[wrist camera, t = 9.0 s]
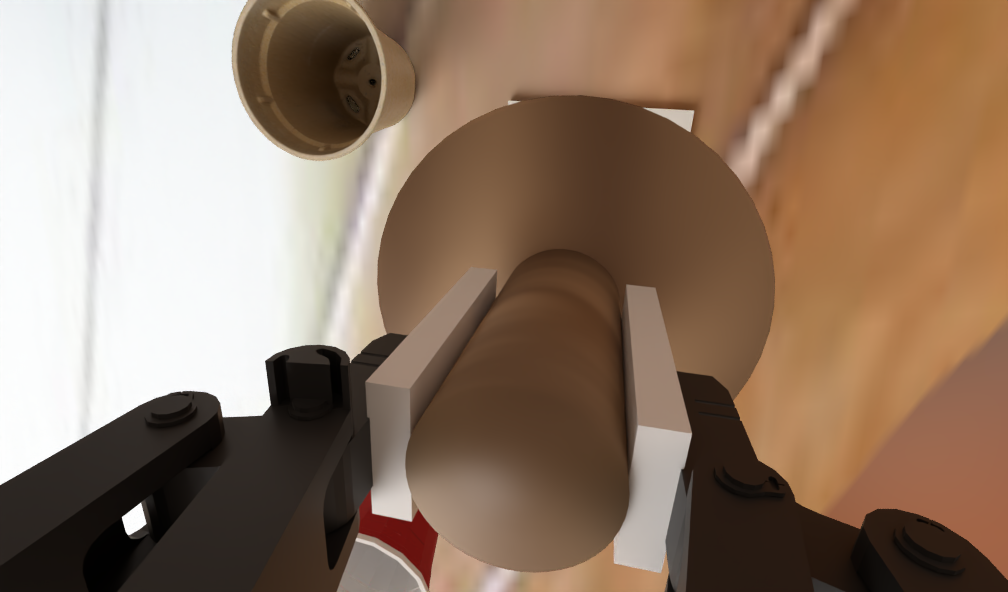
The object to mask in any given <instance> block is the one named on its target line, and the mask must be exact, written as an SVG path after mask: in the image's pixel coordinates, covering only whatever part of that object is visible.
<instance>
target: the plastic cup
mask: <svg viewBox="0 0 1008 592" xmlns="http://www.w3.org/2000/svg"><path fill="white" fill-rule="evenodd" d="M359 513H360V525H359V533H358V535H357V538H356V541H355V543H354V546H353V549H352V552H351V554H350V557H349V560H348V562H347V565H346V568H345V571H344V573H343V576H342V579H341V581H340V584H339V587H338V589H337V592H430V591H429V583H430V577H431V567H432V562H433V557H434V553H435V548H436V543H437V538H438V533H437V532H436V531H435V530H434V529H433V528H432V526H431V525H430V524H429V523H428V522H427V521H426V519H425V518H424V516H423V515H422V514H421V512H420V511H419V509H418V510H417V512H416V514H415V516H414V518H413V520H412V522H411V521H406V520H402V519H397V518H392V517H387V516H382V515H377V514H373V513H372V500H371V490H370V491H369V493H368V494H367V496H366V498H365V499H364V501H363V502H362V504H361V505H360V507H359Z"/></svg>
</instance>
